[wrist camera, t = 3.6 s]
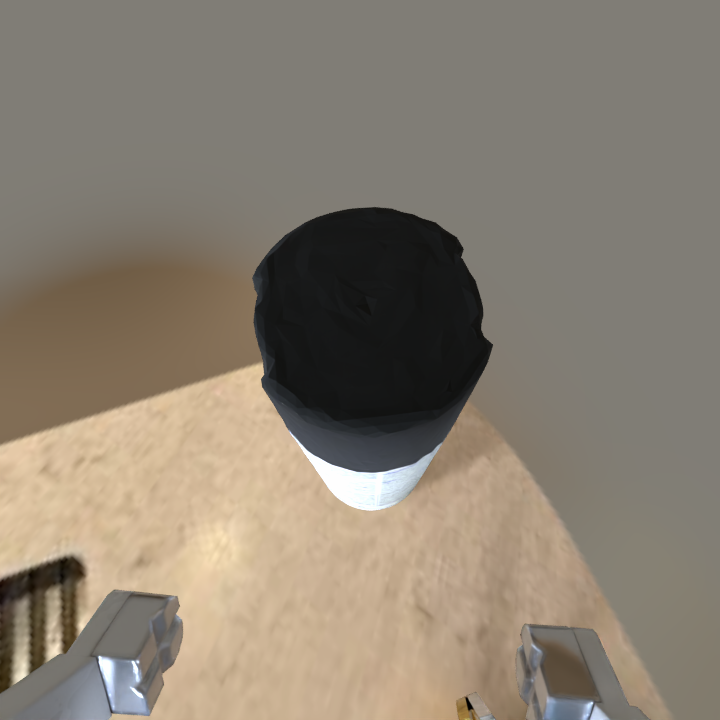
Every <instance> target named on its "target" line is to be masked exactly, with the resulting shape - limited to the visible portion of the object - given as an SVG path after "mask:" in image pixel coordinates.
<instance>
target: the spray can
mask: <svg viewBox="0 0 720 720" xmlns="http://www.w3.org/2000/svg"><path fill="white" fill-rule="evenodd" d="M463 250H464V249H463V247H462V245H461V244H460V242H459V240H458V239H457V237H455V236H454V235H452V234H450V233H449V232H447V231H446V230H444V229H443V228H441V227H440V226H439V225H438V224H437V223H435V222H432V221H429V220H425V219H422V218H419V217H418V216H415V215H413V214H408V213H403V212H400V211H397V210H394V209H389V208H378V207H372V208H355V209H347V210H342V211H337V212H333V213H329V214H326V215H323V216H320V217H317V218H315V219H312V220H310V221H308V222H306V223H304V224H302V225H301V226H299V227H297V228H296V229H294V230H293V231H291V232H290V233H288V234H287V235H285V236H284V237H283V238H282V239H281V240H280V241H279V242H278V243H277V244H276V245H275V246H274V247H273V248H272V249H271V250H270V251H269V253H268V254H267V255H266V256H265V258H264V259H263V260H262V262H261V263H260V265H259V266H258V267H257V269H256V271H255V274H254V275H253V278H252V279H253V283H254V288H255V290H256V292H257V295H258V296H257V300H256V305H255V313H254V327H255V333H256V338H257V341H258V345H259V348H260V351H261V355H262V359H263V367H264V376H263V377H262V379H261V381H262V388H263V389H264V390H265V392H266V393H267V395H268V397H269V398H270V400H271V401H272V403H273V404H274V406H275V408H276V409H277V411H278V413H279V414H280V416H281V417H282V419H283V421H284V423H285V425H286V427H287V428H288V430H289V432H290V433H291V435H292V436H293V437H294V438H295V440H296V441H297V443H298V444H299V445H300V447H301V448H302V450H303V451H304V453H305V454H306V456H307V457H308V459H309V460H310V461H311V463H312V464H313V466H314V467H315V469H316V470H317V471H318V473H319V474H320V476H321V477H322V479H323V480H324V482H325V483H326V485H327V486H328V488H329V489H330V490H331V491H332V493H333V494H334V495H335V496H336V497H338V498H339V499H340V500H341V501H343V502H344V503H346V504H348V505H350V506H353V507H355V508H358V509H363V510H379V509H384V508H388V507H390V506H393V505H395V504H397V503H399V502H400V501H402V500H403V499H404V498H405V497H407V496H408V495H409V494H410V493H411V491H412V490H413V489H414V487H415V486H416V484H417V483H418V481H419V480H420V478H421V476H422V475H423V473H424V472H425V470H426V469H427V467H428V465H429V464H430V462H431V460H432V459H433V457H434V456H435V454H436V452H437V451H438V449H439V448H440V446H441V445H442V443H443V441H444V440H445V438H446V437H447V435H448V433H449V432H450V430H451V428H452V426H453V425H454V423H455V422H456V420H457V418H458V416H459V414H460V413H461V411H462V409H463V407H464V405H465V404H466V402H467V400H468V398H469V396H470V395H471V393H472V391H473V389H474V387H475V385H476V384H477V382H478V380H479V378H480V376H481V375H482V373H483V371H484V369H485V367H486V365H487V362H488V359H489V356H490V353H491V350H492V347H493V344H491V343H490V342H489V341H488V340H487V339H486V338H485V337H484V336H483V333H482V331H481V323H482V319H483V306H482V302H481V298H480V294H479V291H478V288H477V284H476V281H475V279H474V278H473V277H472V275H471V273H470V272H469V270H468V268H467V266H466V264H465V263H464V261H463V259H462V258H461V256H462V253H463Z"/></svg>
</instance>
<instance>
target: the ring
mask: <svg viewBox="0 0 720 720" xmlns="http://www.w3.org/2000/svg"><path fill="white" fill-rule="evenodd" d="M456 705H457V712H458V717H459V720H496V719H495V718H494V716H493V715H492V713H491V712H490V710H489V709H488V707H487V706H486V705H485V703H484V702H483V700H482V699H481V697H480V696H479V694H478V693H477V692H474V693H471V694H469V695H466V696H464V697H462V698H460V699H458V700H456Z"/></svg>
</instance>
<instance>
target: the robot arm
mask: <svg viewBox="0 0 720 720" xmlns="http://www.w3.org/2000/svg"><path fill="white" fill-rule="evenodd" d="M179 607H180V605H179V601H178V596H171V595H162V594H153V593H144V592H135V591H124V590H113V591H112V592H111V593H110V594H108V595H107V596H106V598H105V599H104V601H103V602H102V603H101V605H100V606H99V608H98V609H97V611H96V612H95V613H94V615H93V616H92V618H91V619H90V621H89V622H88V623H87V625H86V626H85V628H84V629H83V631H82V632H81V633H80V635H79V636H78V638H77V639H76V641H75V642H74V643H73V645H72V646H71V648H70V649H69V651H68V652H67V653H66V654H59V655H57V656H56V657H54V658H53V659H51V660H50V661H48V662H47V663H45V664H44V665H42V666H41V667H40V668H38V669H37V670H35V671H34V672H32V673H31V674H29V675H28V676H26V677H25V678H23V679H22V680H20V681H19V682H17V683H16V684H14V685H13V686H11V687H10V688H9V689H7V690H6V691H4V692H3V693H1V694H0V720H108V719H109V718H110V717H111V716H112V714H111V713H113V714H128V715H143V716H150V714H151V712H152V710H153V707H154V705H155V703H156V701H157V699H158V697H159V695H160V692H161V690H162V688H163V686H164V681H163V676H162V674H163V673H164V672H165V671H166V670H167V669H169V668H170V667H171V666H172V665H173V664H174V662H175V660H176V657H177V655H178V653H179V650H180V646H181V642H182V638H183V623H182V620H181V619H180V618H179V617H178V616H177V615H176V613H177V611H178V609H179ZM520 635H521V639H522V643H523V645H522V646H520V647H519V648H518V649H517V654H516V678H517V685H518V689H519V693H520V697H521V698H522V699H523V700H524V701H525V703H526V704H527V705H528V710H527V714H526V720H650V719H649V718H648V717H647V716H646V715H645V714H644V713H643V712H642V711H641V710H640V709H639V708H638V707H636V706H629V703H628V701H627V699H626V697H625V695H624V692H623V690H622V688H621V686H620V683H619V681H618V679H617V677H616V675H615V672H614V670H613V668H612V666H611V664H610V661H609V659H608V657H607V655H606V652H605V650H604V648H603V646H602V644H601V641H600V639H599V637H598V635H597V633H596V632H595V631H594V630H593V629H585V628H572V627H567V626H552V625H537V624H524V625H523V627H522V630H521V634H520Z"/></svg>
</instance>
